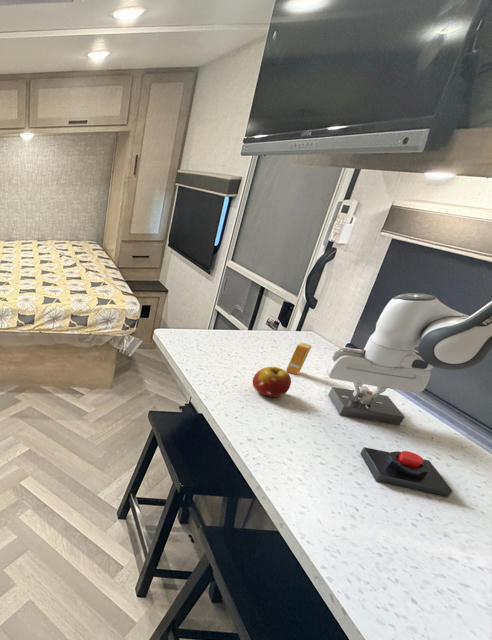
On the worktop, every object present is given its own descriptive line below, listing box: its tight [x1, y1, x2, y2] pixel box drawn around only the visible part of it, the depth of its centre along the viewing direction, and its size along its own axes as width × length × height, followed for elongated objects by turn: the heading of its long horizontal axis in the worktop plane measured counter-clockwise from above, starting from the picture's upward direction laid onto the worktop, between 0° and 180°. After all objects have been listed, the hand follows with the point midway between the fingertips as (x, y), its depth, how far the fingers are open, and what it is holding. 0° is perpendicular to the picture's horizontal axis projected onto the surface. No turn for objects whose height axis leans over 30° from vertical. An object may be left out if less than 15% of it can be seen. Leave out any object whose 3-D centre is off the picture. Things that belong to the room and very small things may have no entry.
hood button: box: [398, 450, 424, 468], centre depth 88 cm, size 4×4×2 cm
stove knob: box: [358, 385, 373, 405], centre depth 110 cm, size 5×1×3 cm, turn 156°
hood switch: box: [359, 446, 453, 499], centre depth 89 cm, size 12×10×4 cm
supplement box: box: [285, 342, 312, 376], centre depth 129 cm, size 3×3×10 cm
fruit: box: [252, 366, 292, 398], centre depth 118 cm, size 10×9×8 cm
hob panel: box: [327, 386, 406, 427], centre depth 111 cm, size 13×11×3 cm
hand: (363, 397), depth 111 cm, fingers closed on stove knob
